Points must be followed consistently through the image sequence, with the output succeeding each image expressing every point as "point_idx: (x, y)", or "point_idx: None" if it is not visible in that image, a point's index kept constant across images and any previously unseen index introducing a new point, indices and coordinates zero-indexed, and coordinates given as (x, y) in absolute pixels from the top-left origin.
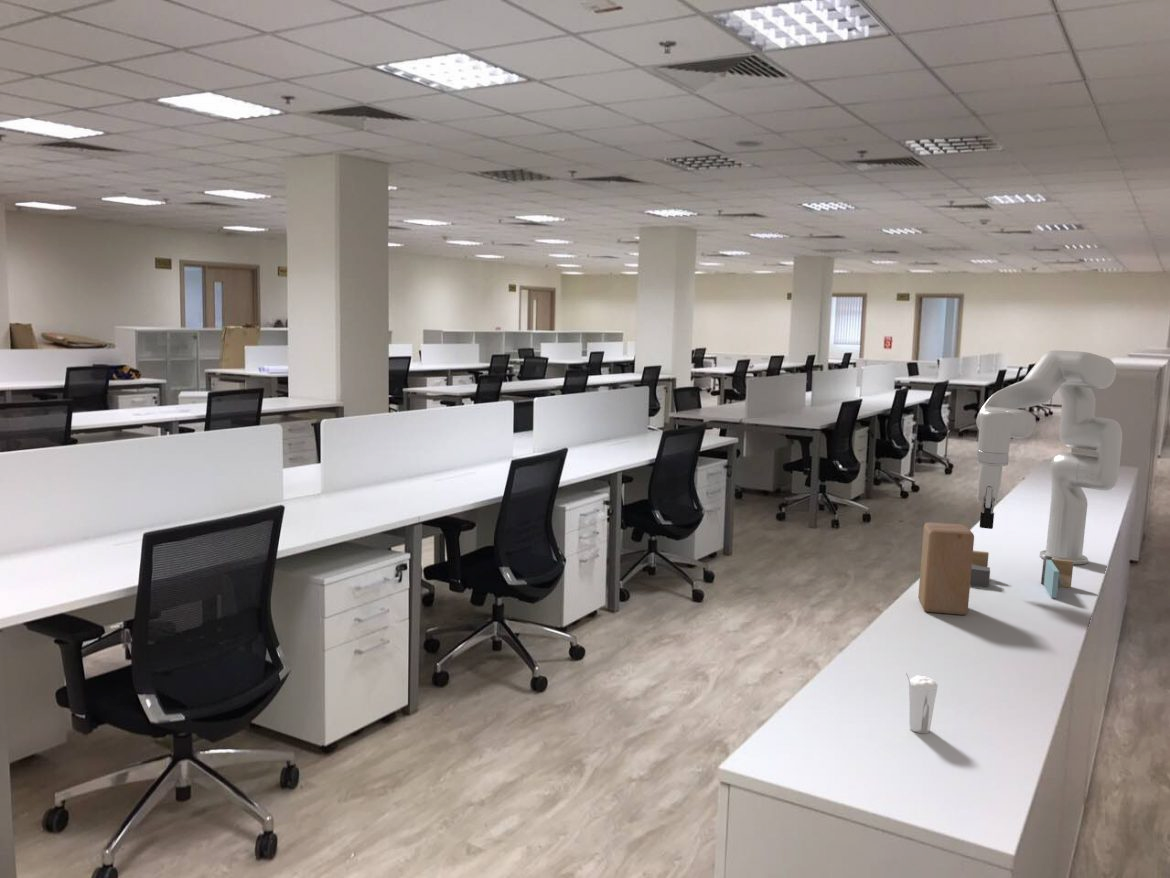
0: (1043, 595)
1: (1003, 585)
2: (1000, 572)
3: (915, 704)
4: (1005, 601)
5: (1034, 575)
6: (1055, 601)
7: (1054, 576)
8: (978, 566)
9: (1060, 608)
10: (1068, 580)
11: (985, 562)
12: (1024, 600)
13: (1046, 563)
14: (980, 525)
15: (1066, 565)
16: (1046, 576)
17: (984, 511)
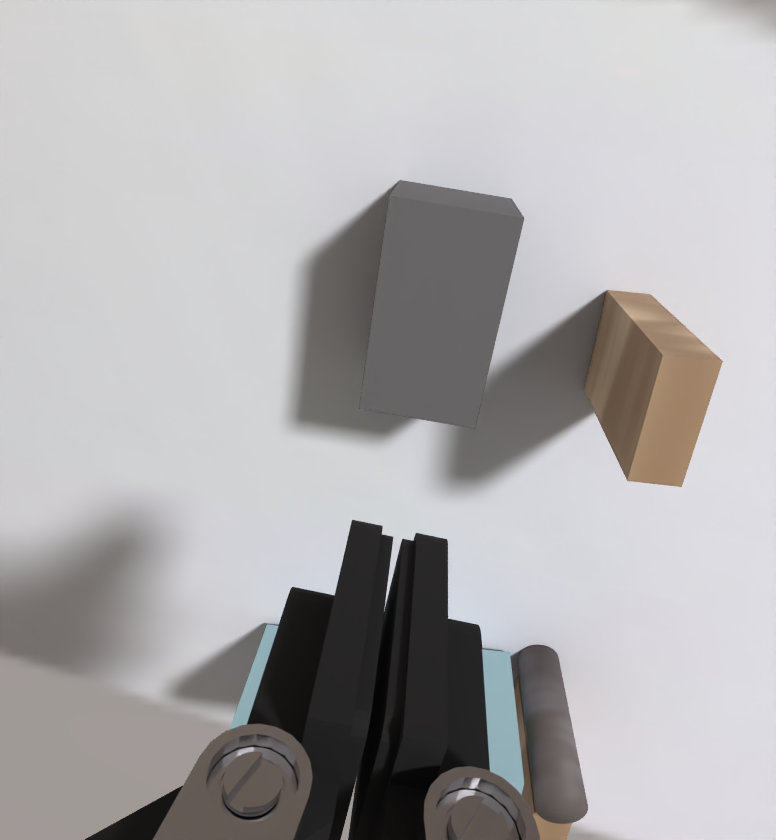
0: None
1: (449, 458)
2: (768, 505)
3: None
4: (101, 398)
5: (720, 658)
6: (227, 624)
7: (234, 721)
8: (477, 350)
9: (115, 614)
10: None
11: (612, 426)
12: (174, 497)
13: (498, 760)
14: (350, 542)
15: None
16: None
17: (168, 798)
